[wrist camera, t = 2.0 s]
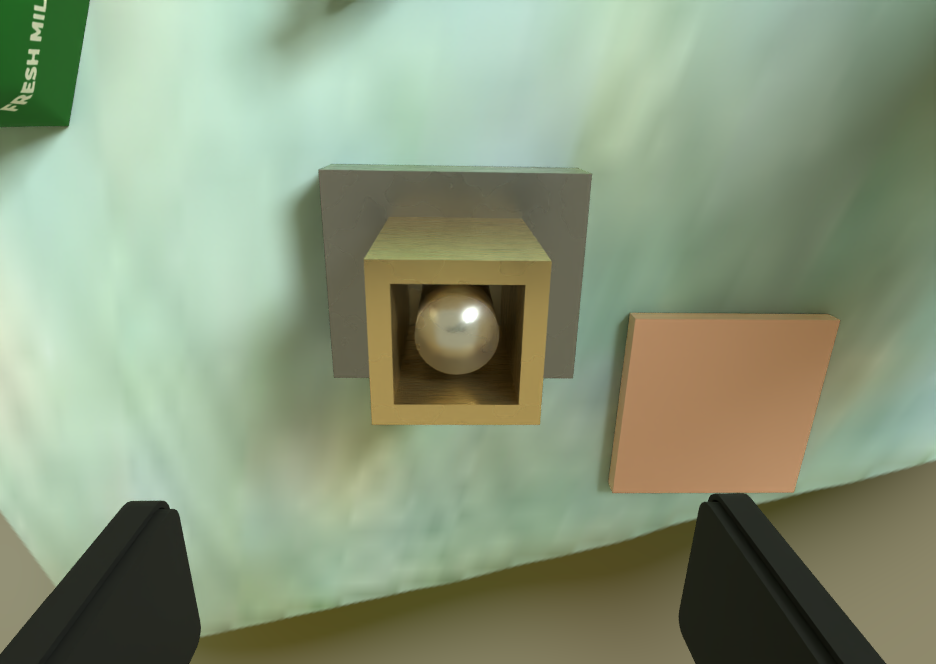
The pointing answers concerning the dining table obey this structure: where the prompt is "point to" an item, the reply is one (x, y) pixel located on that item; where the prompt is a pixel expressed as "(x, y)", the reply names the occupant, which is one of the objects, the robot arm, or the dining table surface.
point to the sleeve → (456, 262)
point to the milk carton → (39, 60)
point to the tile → (718, 401)
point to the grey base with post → (452, 305)
